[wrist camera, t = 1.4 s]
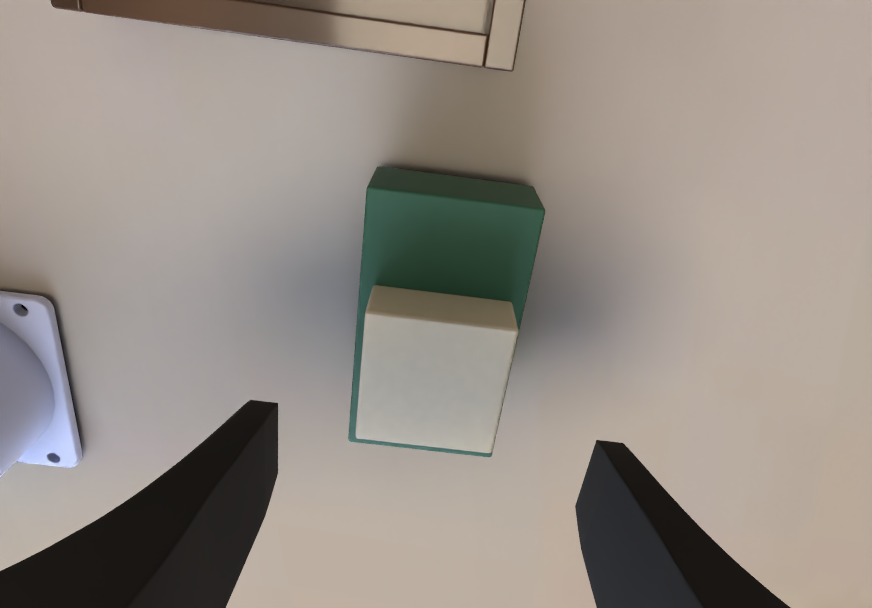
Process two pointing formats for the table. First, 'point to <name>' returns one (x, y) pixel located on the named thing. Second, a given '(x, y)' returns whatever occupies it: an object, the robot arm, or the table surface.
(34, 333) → the robot arm
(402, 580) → the table surface
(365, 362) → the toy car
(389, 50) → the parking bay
